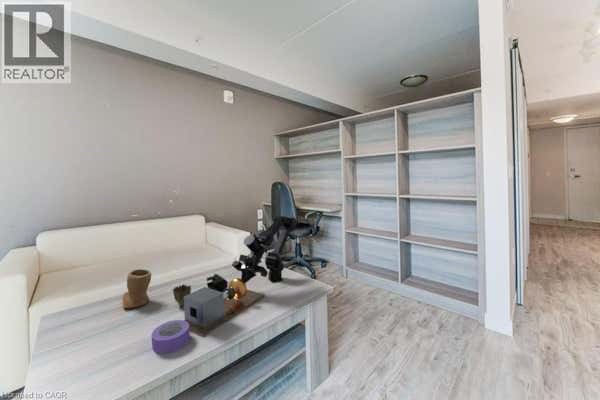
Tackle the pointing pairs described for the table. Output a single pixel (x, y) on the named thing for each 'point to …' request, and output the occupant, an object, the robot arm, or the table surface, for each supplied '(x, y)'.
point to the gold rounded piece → (235, 290)
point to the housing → (213, 309)
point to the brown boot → (136, 288)
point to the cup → (181, 293)
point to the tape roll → (170, 336)
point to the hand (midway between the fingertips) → (241, 285)
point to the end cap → (217, 283)
